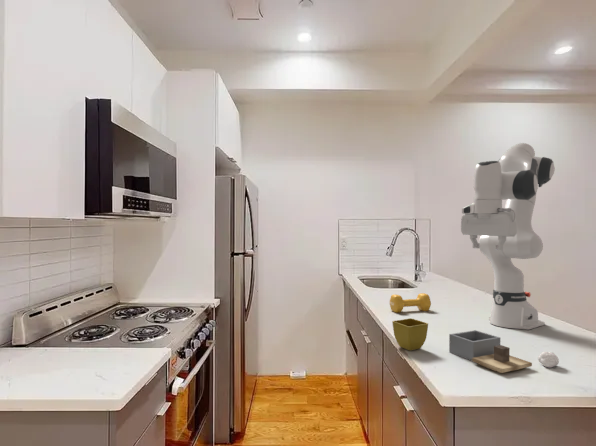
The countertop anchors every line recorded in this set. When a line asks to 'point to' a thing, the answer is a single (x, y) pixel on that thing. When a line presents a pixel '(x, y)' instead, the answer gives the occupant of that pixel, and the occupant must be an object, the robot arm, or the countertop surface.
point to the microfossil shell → (548, 359)
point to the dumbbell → (410, 302)
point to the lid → (501, 360)
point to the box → (472, 344)
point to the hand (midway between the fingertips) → (487, 249)
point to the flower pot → (410, 333)
